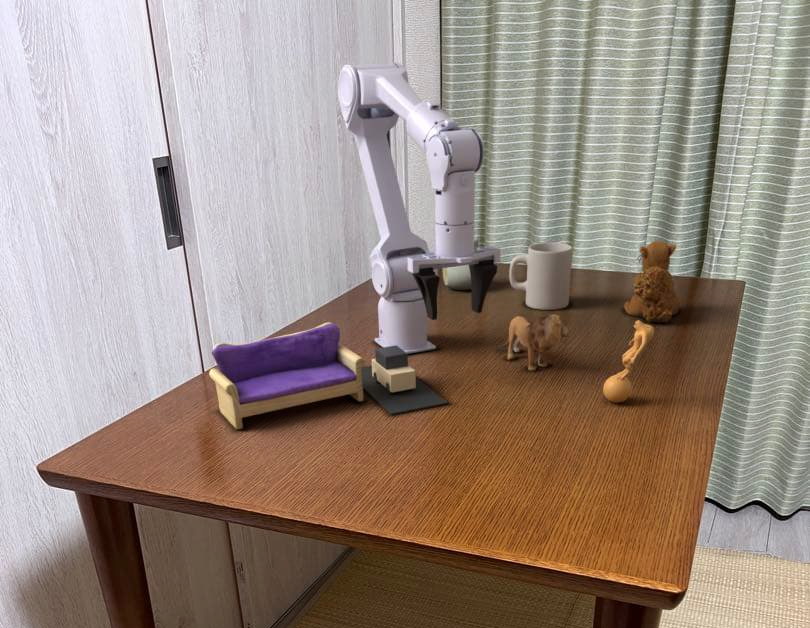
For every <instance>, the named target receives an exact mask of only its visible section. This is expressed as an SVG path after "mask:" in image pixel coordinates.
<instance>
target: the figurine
mask: <svg viewBox="0 0 810 628" xmlns="http://www.w3.org/2000/svg"><path fill="white" fill-rule="evenodd" d="M633 328H634V329H635V332H634V337H633V338H632V339H631V340H630V341H629V342H628V346H629V347H630V348H629V349H627V350H626V352H625V353H623V354H622V356H621V357H622V365H623V366H624V367H625V369H623V370H622V371H620V372H618V373H616V374H614V375H611V376H609V377H608V378H607V379H606V380H605V382H604V384H603V389H602V392H603V394H604V395H603V396H604V397H605V398H606V399H607V400H608V401H609V402H612V403H618V404H619V403H622V402H625V401H626V400H627V399H628V398H629V397H630V396H631V393H632V390H633V387H632V382H631V380H630V379H629V378H628V377H627V376H628V375H629V374H630V373H631V371H632V366H633V364H634V363H635V362H636V359H637V357H638V356H639V355H640V354H641V352H642V351H643V349H645V347H646V345H647V344H648V343H649V341H650V340H651V339H652V338H653V336H654V335H655V328H654V327H653V325H650V324H647V323H644V322H642V321H641V320H639V319H638V320H636V321H635V322H634V325H633Z"/></svg>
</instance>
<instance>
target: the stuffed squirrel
mask: <svg viewBox="0 0 810 628" xmlns="http://www.w3.org/2000/svg"><path fill="white" fill-rule="evenodd" d="M676 250H677V245H676V244H674V243H671V244H669V245H668V243H666V242H665V241H661V240H659V241H658V240H656V241H652V242H650V243H649V244H647V245H646V246H639V248H638V251H639V253H640V254H639V256H637V258H636V259H635V261H637V263H638V264H639V263H640V262H641V266H642V272H641V273H640V274H637V275H636V276H635V278H634V281H633V282H634V283H633V284H632V287H633V290H634V291H633V293H634V295H632V297H631V300H630V301H626V302H625V303H624V305H623V307H624V310H625V312H626V313H627V314H628V315H629V316H633V317H637V318H643V319H645V320H646V322H649V323H668V322H669V320H672V316H674V315H676V314H678V311H679V308H680V302H681V301H680V297H679V295H678V294H677V292H676V291H675V282H674V280H673V276H672V274H671V272H669V267H670V264H671V260H670V259H671V256H672V255H673V254H674V252H675V251H676Z"/></svg>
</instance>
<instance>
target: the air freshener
mask: <svg viewBox="0 0 810 628" xmlns="http://www.w3.org/2000/svg"><path fill="white" fill-rule="evenodd" d="M479 241H480V240H479V239H478V238H477V237H475V236H474V248H480V247H479V244H480V242H479ZM442 278H443V282H444V285H445V286H447V288H449V289H451V290H454V291H455V290H456V291H457V290H458V291H470V290H472V286H471V276H470V269H469V265H464V266H456V267H448V268H442Z"/></svg>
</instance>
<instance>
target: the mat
mask: <svg viewBox="0 0 810 628" xmlns="http://www.w3.org/2000/svg"><path fill="white" fill-rule="evenodd" d="M361 372H362V386H363V391H364V392H365V393H367V394H368V395H369V396H370V397H371V398H372V399H373V400H374V401H375V402H376V403H378V404H379V406H380V407H382V408H383V409H384V410H385V411H386V412H387V413H388V414H389V415H390V416H395V415H400V414H405V413H410V412H415V411H419V410H426V409H430V408H435V407H441V406H446V405H448V404H449V401H447V400H445V399H444V398H443V397H441V396H440V395H439V394H438V393H436V392H435V391H434V390H433V389H432V388H430V387H428V386H427V385H426V384H425V383H423V382H422V380H420V379H418V378H417V376H415V378H416V388H414V389H412V390H403V391H398V392H394V393H391V394H388V392H387V390H386V387H385V386H383V385H382V384H381V383H380V382H379V383H376V382H375V380H374V377H373V376H372V365H370V366H364V367H363V368H361Z"/></svg>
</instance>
